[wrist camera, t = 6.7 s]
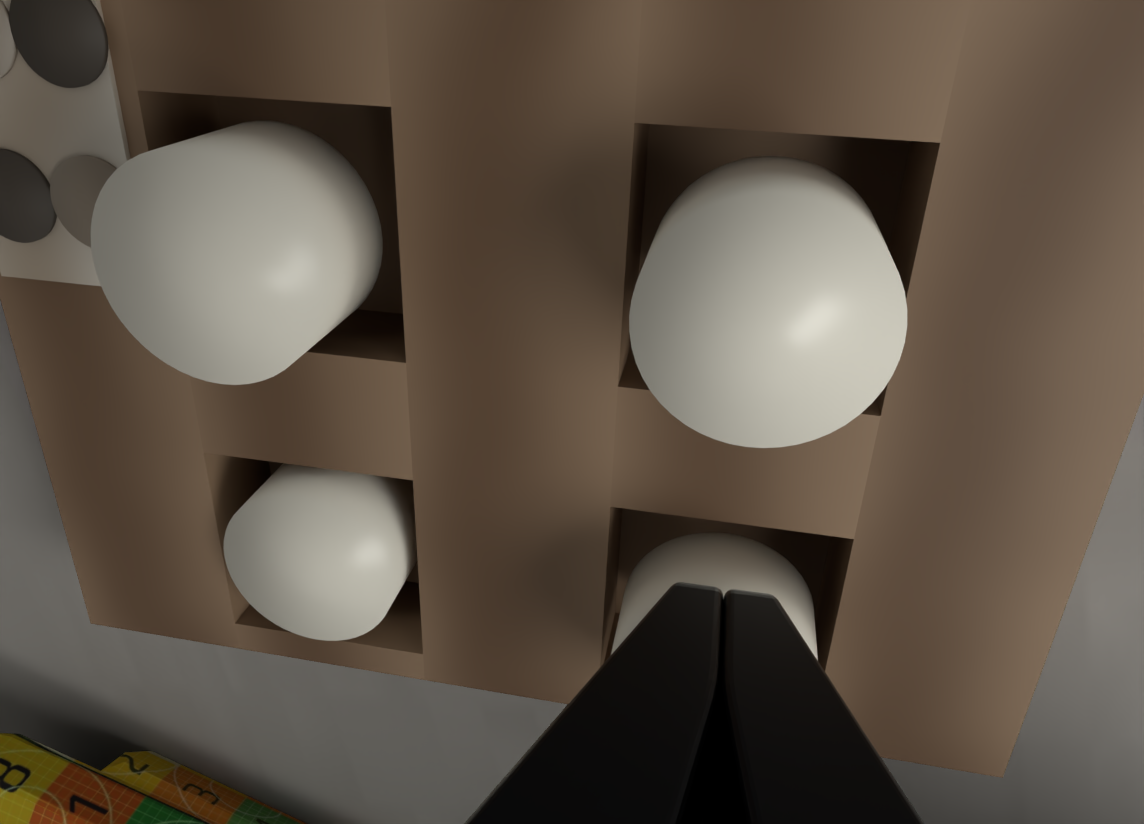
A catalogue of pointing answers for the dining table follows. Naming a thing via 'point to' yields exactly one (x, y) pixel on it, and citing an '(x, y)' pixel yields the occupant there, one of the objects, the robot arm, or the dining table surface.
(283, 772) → the dining table surface
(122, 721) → the dining table surface
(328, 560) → the inner button
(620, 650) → the robot arm
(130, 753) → the puzzle game
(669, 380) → the outer button
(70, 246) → the button board
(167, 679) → the dining table surface
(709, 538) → the inner button
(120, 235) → the outer button
